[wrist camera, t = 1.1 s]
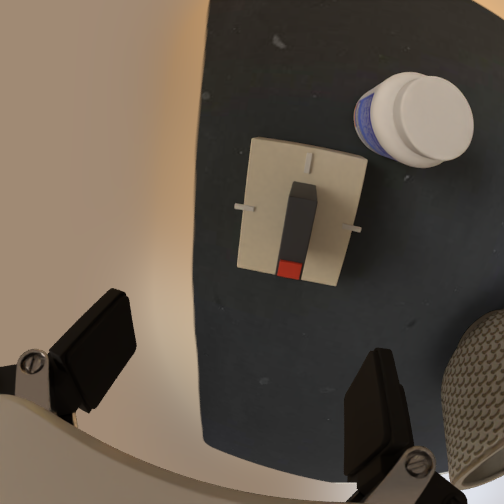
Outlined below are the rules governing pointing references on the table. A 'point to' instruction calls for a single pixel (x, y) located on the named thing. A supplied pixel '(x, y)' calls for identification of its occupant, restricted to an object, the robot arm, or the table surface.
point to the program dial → (297, 230)
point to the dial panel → (276, 198)
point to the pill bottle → (415, 120)
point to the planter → (475, 404)
